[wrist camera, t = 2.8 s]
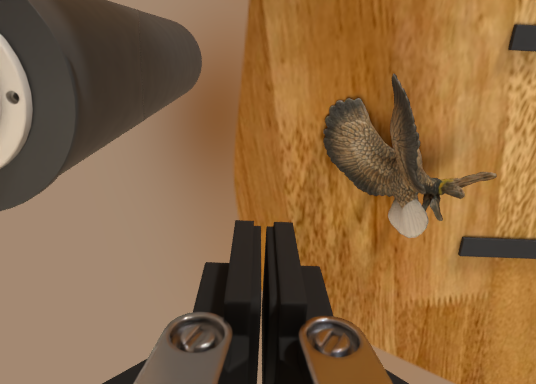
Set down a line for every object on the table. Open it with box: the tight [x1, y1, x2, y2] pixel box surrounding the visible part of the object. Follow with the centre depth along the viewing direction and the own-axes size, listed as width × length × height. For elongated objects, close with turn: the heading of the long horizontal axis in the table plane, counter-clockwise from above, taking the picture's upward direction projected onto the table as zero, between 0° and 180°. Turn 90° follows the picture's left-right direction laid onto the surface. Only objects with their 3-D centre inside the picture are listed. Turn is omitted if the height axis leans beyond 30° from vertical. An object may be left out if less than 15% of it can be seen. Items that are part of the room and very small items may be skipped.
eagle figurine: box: [323, 74, 497, 238], centre depth 25 cm, size 8×7×9 cm
